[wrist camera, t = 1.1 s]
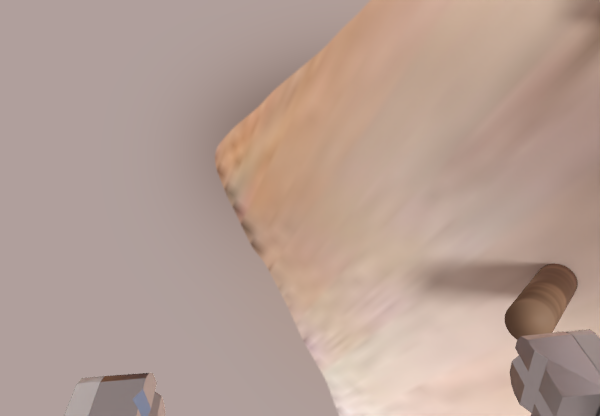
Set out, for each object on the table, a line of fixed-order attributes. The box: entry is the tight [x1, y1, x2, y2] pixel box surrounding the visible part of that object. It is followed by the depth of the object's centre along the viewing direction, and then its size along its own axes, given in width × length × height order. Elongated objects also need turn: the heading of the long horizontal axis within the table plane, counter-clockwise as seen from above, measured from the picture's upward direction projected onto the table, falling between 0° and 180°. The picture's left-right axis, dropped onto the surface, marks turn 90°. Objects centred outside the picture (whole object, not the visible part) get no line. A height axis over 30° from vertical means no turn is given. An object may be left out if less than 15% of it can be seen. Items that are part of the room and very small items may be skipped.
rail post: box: [505, 264, 577, 340], centre depth 43 cm, size 4×4×11 cm
